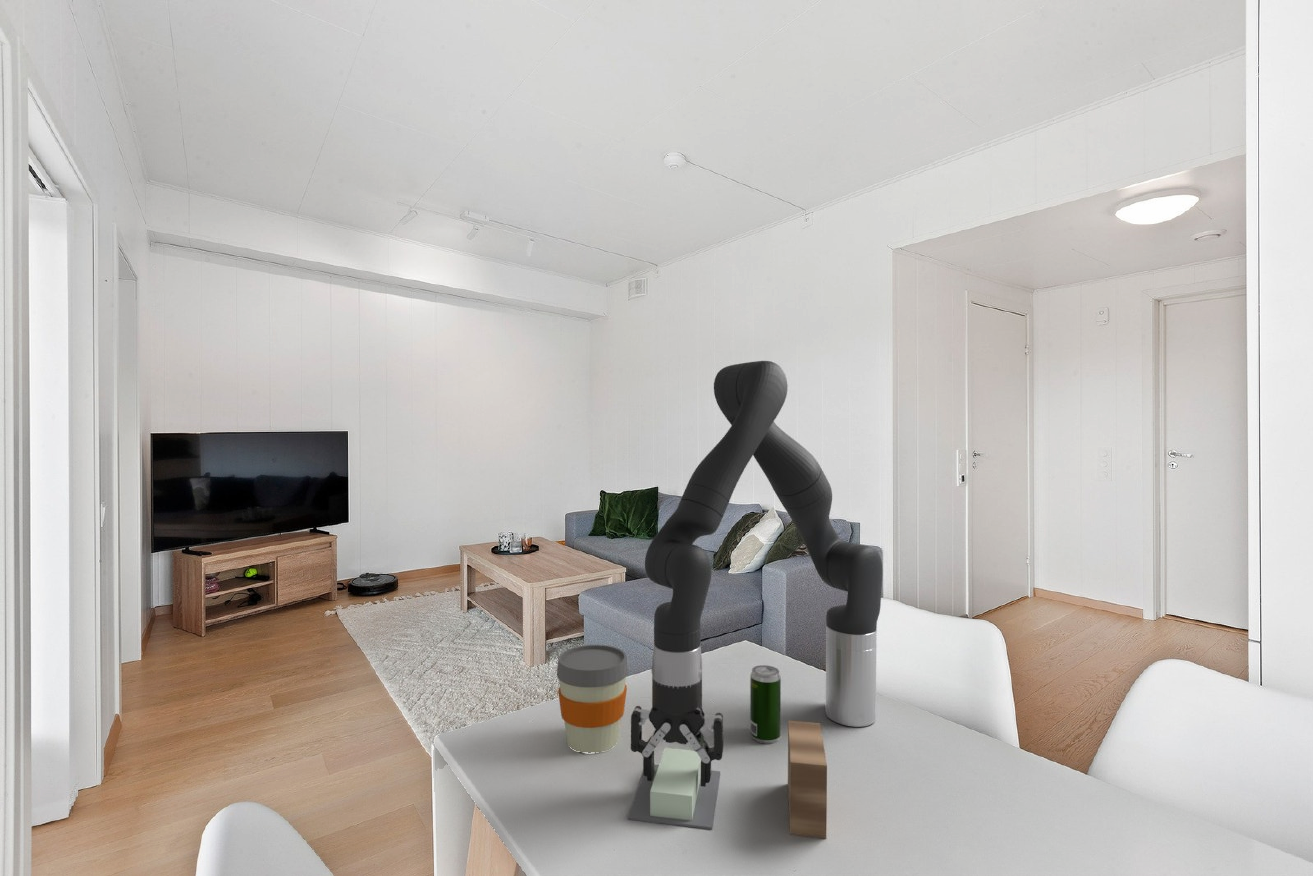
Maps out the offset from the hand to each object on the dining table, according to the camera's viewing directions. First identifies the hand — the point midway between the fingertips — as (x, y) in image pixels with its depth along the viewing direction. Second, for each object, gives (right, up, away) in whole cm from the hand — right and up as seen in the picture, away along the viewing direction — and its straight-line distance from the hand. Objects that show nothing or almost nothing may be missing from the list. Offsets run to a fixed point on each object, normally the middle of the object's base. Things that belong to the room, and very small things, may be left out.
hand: (676, 780), depth 94 cm
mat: (0, -2, 0) cm, 2 cm away
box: (+19, -2, -3) cm, 19 cm away
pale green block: (0, -2, 0) cm, 2 cm away
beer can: (+16, -2, +17) cm, 24 cm away
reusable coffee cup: (-14, -2, +16) cm, 22 cm away
